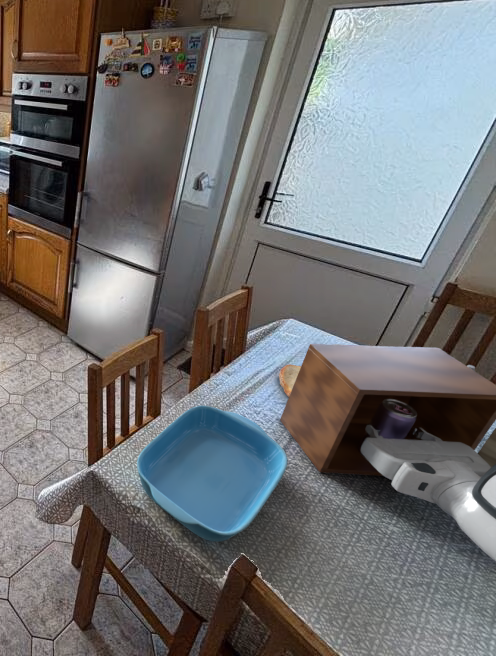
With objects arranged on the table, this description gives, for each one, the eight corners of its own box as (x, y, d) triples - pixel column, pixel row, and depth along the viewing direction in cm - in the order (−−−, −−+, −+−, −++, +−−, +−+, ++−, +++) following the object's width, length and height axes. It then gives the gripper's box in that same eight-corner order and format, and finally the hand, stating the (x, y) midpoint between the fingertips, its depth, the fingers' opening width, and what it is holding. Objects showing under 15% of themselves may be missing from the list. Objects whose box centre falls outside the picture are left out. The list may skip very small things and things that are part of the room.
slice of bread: (322, 422, 107) (327, 411, 106) (256, 380, 122) (260, 370, 121) (362, 401, 114) (367, 391, 112) (295, 364, 129) (299, 354, 127)
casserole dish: (218, 579, 74) (228, 556, 71) (114, 492, 90) (118, 469, 87) (292, 469, 95) (302, 447, 92) (197, 413, 111) (202, 393, 108)
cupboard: (453, 480, 92) (512, 395, 81) (319, 472, 94) (360, 389, 83) (395, 425, 106) (438, 347, 96) (279, 419, 108) (310, 343, 98)
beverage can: (387, 471, 92) (416, 422, 86) (353, 454, 97) (379, 406, 90) (392, 457, 96) (420, 408, 89) (360, 441, 100) (384, 394, 94)
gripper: (518, 475, 77) (449, 419, 89) (401, 468, 79) (349, 415, 91) (500, 497, 80) (435, 440, 92) (387, 490, 81) (339, 436, 94)
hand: (392, 428), depth 92 cm, fingers open, 8 cm apart
